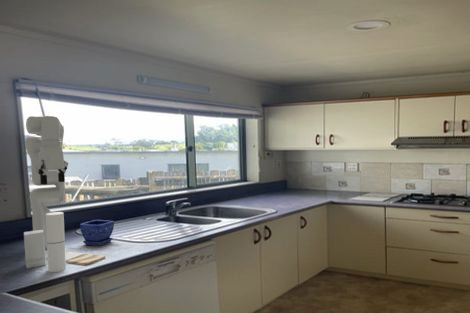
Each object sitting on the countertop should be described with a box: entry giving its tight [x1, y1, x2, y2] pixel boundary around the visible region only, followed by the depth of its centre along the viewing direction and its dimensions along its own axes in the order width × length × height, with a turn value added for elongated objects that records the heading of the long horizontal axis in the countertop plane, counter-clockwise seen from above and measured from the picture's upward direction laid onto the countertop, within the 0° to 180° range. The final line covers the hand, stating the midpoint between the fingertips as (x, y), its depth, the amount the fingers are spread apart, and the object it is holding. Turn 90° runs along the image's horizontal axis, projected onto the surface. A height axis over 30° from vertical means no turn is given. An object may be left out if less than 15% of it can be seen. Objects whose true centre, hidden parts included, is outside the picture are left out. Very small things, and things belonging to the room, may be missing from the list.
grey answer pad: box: [46, 250, 85, 263], centre depth 199 cm, size 12×12×1 cm
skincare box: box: [23, 230, 47, 269], centre depth 188 cm, size 8×7×16 cm
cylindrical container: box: [46, 211, 67, 273], centre depth 181 cm, size 7×7×25 cm
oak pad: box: [66, 253, 106, 266], centre depth 194 cm, size 12×12×1 cm
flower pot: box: [79, 219, 115, 247], centre depth 225 cm, size 13×13×12 cm
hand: (53, 183), depth 180 cm, fingers open, 9 cm apart
